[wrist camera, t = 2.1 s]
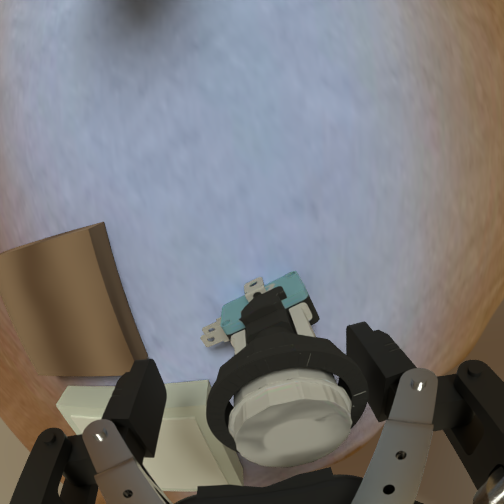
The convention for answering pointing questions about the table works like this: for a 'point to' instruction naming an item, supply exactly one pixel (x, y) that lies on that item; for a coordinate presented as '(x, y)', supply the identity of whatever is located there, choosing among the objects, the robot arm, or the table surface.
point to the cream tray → (168, 436)
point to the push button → (281, 379)
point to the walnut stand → (70, 305)
